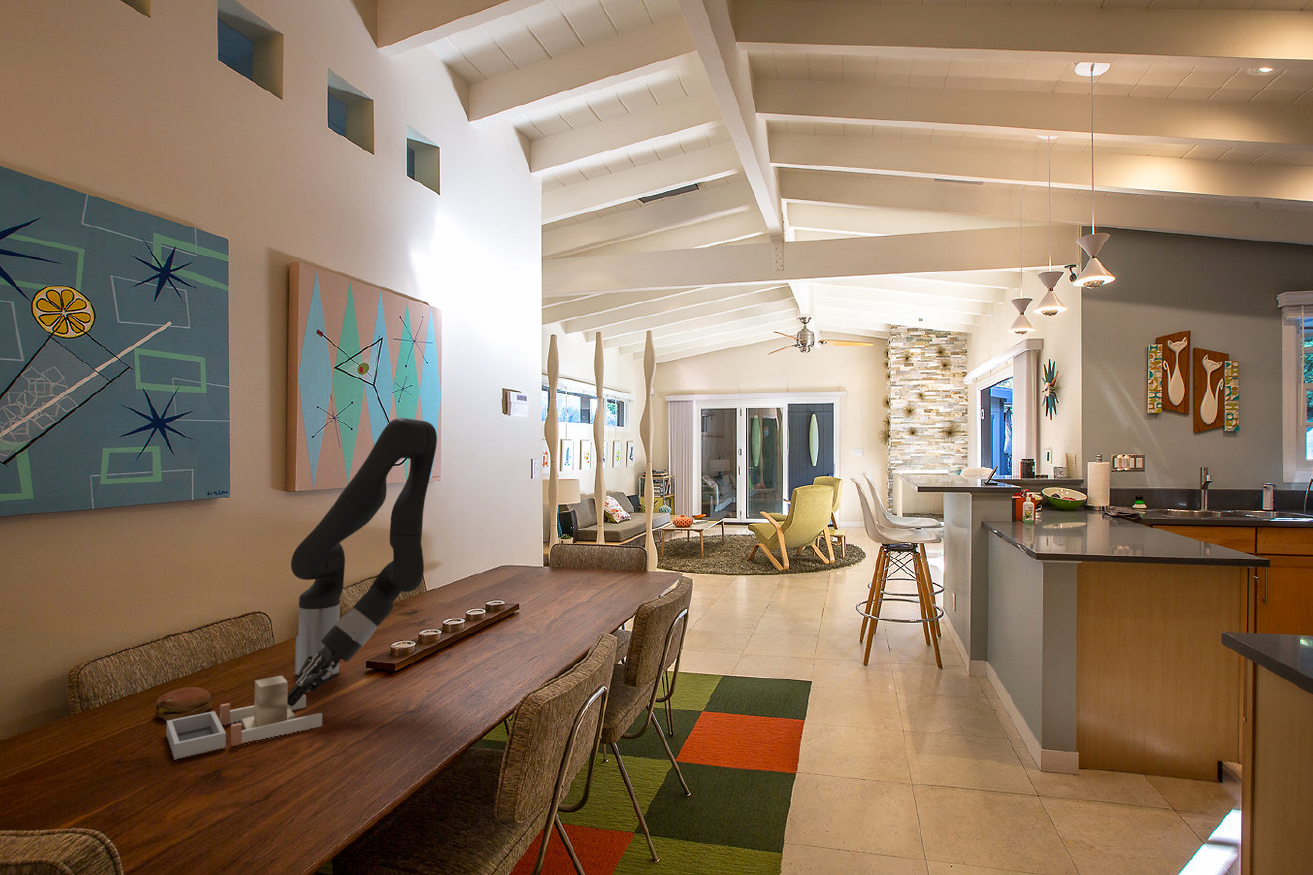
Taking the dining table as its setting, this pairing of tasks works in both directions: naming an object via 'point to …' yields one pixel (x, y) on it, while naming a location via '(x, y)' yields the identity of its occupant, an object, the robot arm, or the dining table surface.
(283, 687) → the pawn block
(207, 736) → the box
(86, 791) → the dining table surface
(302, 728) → the ladder rail frame
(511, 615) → the dining table surface
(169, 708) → the burger
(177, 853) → the dining table surface
